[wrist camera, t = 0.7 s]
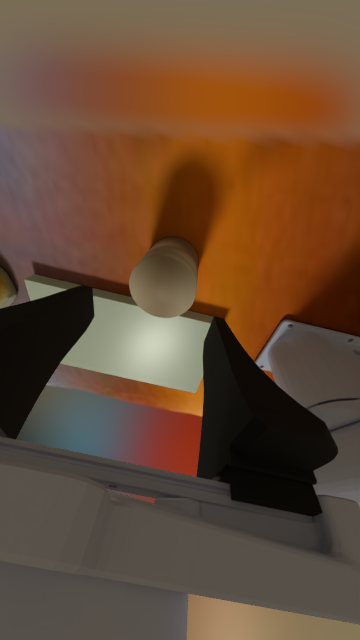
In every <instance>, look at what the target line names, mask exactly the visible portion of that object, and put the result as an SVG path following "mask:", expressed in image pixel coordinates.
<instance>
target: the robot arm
mask: <svg viewBox="0 0 360 640" xmlns="http://www.w3.org/2000/svg"><path fill="white" fill-rule="evenodd" d="M94 316H95V315H94V302H93V288H91V287H87V286H83V285H82V286H77V287H74V288H71V289H67V290H64V291H61V292H58V293H55V294H52V295H49V296H46V297H43V298H39V299H36V300H32V301H29V302H26V303H22V304H18V305H14V306H9V307H5V308H0V640H186V632H187V610H188V594H194V595H199V596H205V597H210V598H216V599H222V600H227V601H233V602H238V603H244V604H250V605H255V606H261V607H266V608H272V609H277V610H283V611H288V612H294V613H299V614H305V615H310V616H316V617H321V618H327V619H332V620H338V621H343V622H349V623H354V624H360V347H359V346H360V337H358V336H354V335H350V334H346V333H342V332H337V331H333V330H329V329H325V328H321V327H317V326H312V325H308V324H304V323H300V322H296V321H292V320H287V319H286V320H283V321H282V322H281V323H280V324H279V326H278V327H277V329H276V330H275V332H274V333H273V335H272V336H271V338H270V339H269V341H268V342H267V344H266V345H265V347H264V348H263V350H262V352H261V353H260V355H259V356H258V358H257V359H256V361H255V362H254V361H253V360H252V359H251V357H250V356H249V355H248V354H247V352H246V351H245V350H244V348H243V347H242V346H241V344H240V343H239V342H238V340H237V339H236V337H235V336H234V334H233V333H232V331H231V329H230V328H229V326H228V325H227V323H226V321H225V320H224V319H222V318H218V317H213V320H212V322H211V325H210V327H209V330H208V333H207V335H206V338H205V340H204V346H203V379H204V403H203V418H202V419H203V420H202V431H201V441H200V452H199V461H198V470H197V477H194V476H189V475H185V474H180V473H175V472H170V471H165V470H160V469H155V468H151V467H146V466H141V465H136V464H131V463H126V462H122V461H117V460H112V459H107V458H102V457H97V456H92V455H88V454H83V453H78V452H73V451H68V450H63V449H59V448H53V447H48V446H44V445H39V444H34V443H29V442H25V441H20V440H16V438H17V436H18V434H19V432H20V430H21V428H22V426H23V424H24V422H25V421H26V419H27V417H28V415H29V413H30V411H31V410H32V408H33V406H34V404H35V402H36V401H37V399H38V397H39V395H40V394H41V392H42V390H43V389H44V387H45V386H46V384H47V382H48V381H49V379H50V377H51V376H52V374H53V373H54V371H55V370H56V368H57V367H58V365H59V364H60V362H61V361H62V360H63V358H64V357H65V356H66V355H67V353H68V352H69V351H70V350H71V349H72V347H73V346H74V345H75V344H76V343H77V341H78V340H79V339H80V338H81V336H82V335H83V334H84V333H85V331H86V330H87V328H88V327H89V325H90V324H91V322H92V320H93V318H94ZM290 324H292V325H290ZM288 325H290V326H288ZM261 365H262V366H261ZM261 369H262V370H267V371H271V372H272V374H273V377H274V380H275V382H274V381H272V380H271V379H270V378H269V377H268V376H267V375H266V374H265V373H264V372H263V371H262V370H261ZM107 489H111V490H116V491H121V492H126V493H131V494H136V495H141V496H146V497H151V498H156V500H155V503H151V502H147V501H144V500H141V499H137V498H134V497H130V496H127V495H124V494H120V493H117V492H114V491H110V490H107Z"/></svg>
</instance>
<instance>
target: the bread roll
mask: <svg viewBox="0 0 360 640" xmlns="http://www.w3.org/2000/svg"><path fill="white" fill-rule="evenodd" d="M16 295H17V292H16V289H15V286H14V285H13V283H12V281H11V279H10V278H9V276H8V275H7V273H6V272H5V271H4V270H3V269H2V268H1V267H0V308H5V307H9V306H10V305H11V304H12V303H13V301H14V300H15V298H16Z"/></svg>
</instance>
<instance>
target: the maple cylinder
mask: <svg viewBox="0 0 360 640" xmlns="http://www.w3.org/2000/svg"><path fill="white" fill-rule="evenodd" d="M198 264H199V261H198V255H197V253H196V251H195V249H194V247H193V246H192V245H191V244H190V243H189V242H188V241H186V240H185V239H183V238H180V237H176V236H169V237H164V238H162V239H160V240H158V241H157V242H156V243H155V244H154V245H153V246H152V248H151V249H150V250H149V251H148V252H147V254H146V255H145V256H144V257H143V258H142V259H141V261H140V262H139V263H138V264H137V265H136V267H135V268H134V269H133V271H132V273H131V276H130V280H129V288H130V292H131V295H132V298H133V299H134V301H135V302H136V304H137V305H138V306H139V307H140V308H141V309H142V310H144V311H145V312H147V313H148V314H150V315H153V316H156V317H160V318H172V317H176V316H179V315H181V314H183V313H185V312H186V311H187V310H188V309H189V308H190V307H191V306H192V304H193V302H194V300H195V296H196V288H197V276H198Z"/></svg>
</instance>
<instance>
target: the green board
mask: <svg viewBox="0 0 360 640" xmlns="http://www.w3.org/2000/svg"><path fill="white" fill-rule="evenodd" d="M24 281H25V284H26V287H27V291H28V294H29V297H30V301H32V300H36V299H39V298H43V297H46V296H49V295H52V294H55V293H58V292H61V291H64V290H67V289H71V288H74V287H77V286H82V285H78V284H74V283H70V282H66V281H61V280H57V279H53V278H49V277H45V276H40V275H36V274H34V275H32V276H30V277H28V278H26V279H24ZM93 302H94V315H95V316H94V318H93V320H92V322H91V324H90V325H89V327H88V328H87V330H86V331H85V333H84V334H83V335H82V336H81V338H80V339H79V340H78V341H77V343H76V344H75V345H74V346H73V347H72V349H71V350H70V351H69V352H68V353H67V355H66V356H65V357H64V358H63V360H62V361H61V362H60V363H61V364H66V365H70V366H75V367H79V368H84V369H88V370H93V371H97V372H102V373H106V374H111V375H115V376H120V377H124V378H129V379H133V380H138V381H142V382H147V383H151V384H156V385H160V386H165V387H169V388H174V389H178V390H183V391H187V392H192V393H196V391H197V389H198V386H199V384H200V382H201V380H202V377H203V346H204V340H205V338H206V335H207V333H208V330H209V327H210V325H211V322H212V320H213V316H209V315H205V314H201V313H196V312H192V311H188V310H187V311H186V312H185V313H183V314H181V315H179V316H176V317H172V318H160V317H156V316H153V315H150V314H148V313H147V312H145V311H144V310H142V309H141V308H140V307H139V306H138V305H137V304H136V302H135V301H134V299H133V298H132V297H129V296H125V295H121V294H116V293H112V292H108V291H104V290H99V289H95V288H93Z"/></svg>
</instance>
